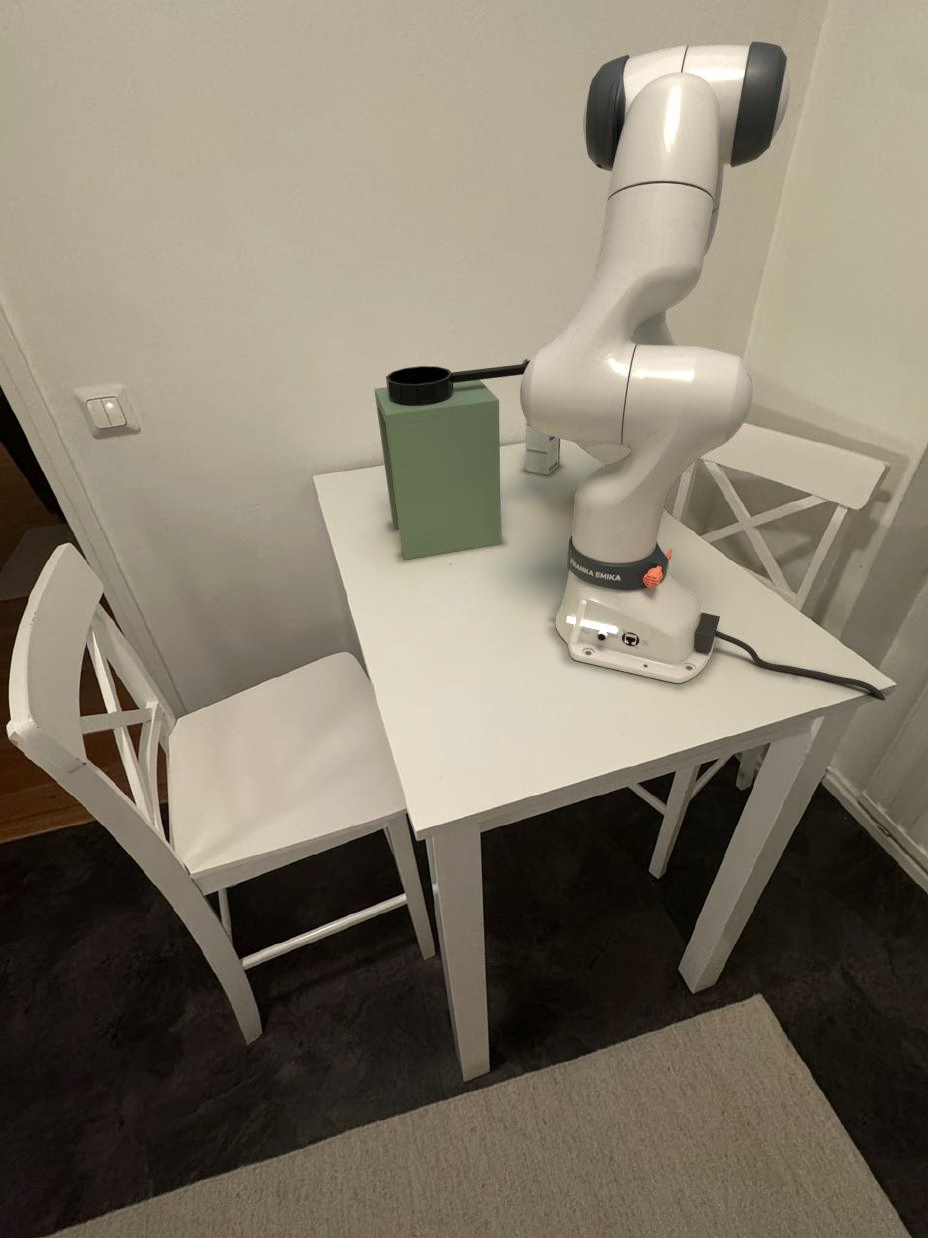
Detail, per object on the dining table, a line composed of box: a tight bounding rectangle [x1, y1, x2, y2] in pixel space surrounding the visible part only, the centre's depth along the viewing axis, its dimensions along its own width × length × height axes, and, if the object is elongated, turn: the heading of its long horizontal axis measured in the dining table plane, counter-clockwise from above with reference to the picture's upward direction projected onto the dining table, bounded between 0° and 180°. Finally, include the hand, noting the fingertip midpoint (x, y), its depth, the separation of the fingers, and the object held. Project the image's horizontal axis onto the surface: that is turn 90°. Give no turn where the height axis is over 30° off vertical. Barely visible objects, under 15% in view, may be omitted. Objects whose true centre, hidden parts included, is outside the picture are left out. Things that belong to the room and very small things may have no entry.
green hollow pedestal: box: [373, 380, 502, 561], centre depth 107 cm, size 18×14×26 cm
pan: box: [385, 363, 529, 406], centre depth 99 cm, size 26×10×3 cm, turn 104°
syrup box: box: [525, 419, 561, 476], centre depth 132 cm, size 6×6×14 cm
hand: (526, 365), depth 100 cm, fingers closed on pan, 2 cm apart
